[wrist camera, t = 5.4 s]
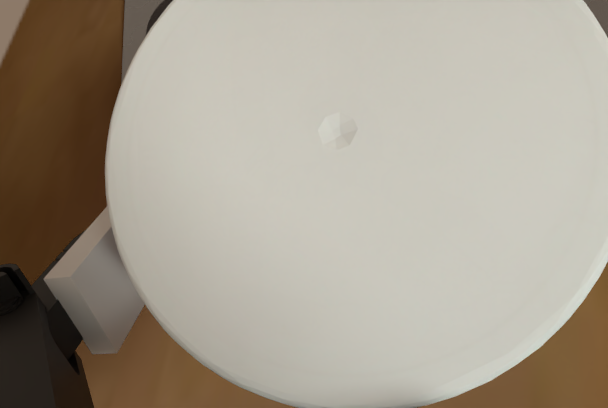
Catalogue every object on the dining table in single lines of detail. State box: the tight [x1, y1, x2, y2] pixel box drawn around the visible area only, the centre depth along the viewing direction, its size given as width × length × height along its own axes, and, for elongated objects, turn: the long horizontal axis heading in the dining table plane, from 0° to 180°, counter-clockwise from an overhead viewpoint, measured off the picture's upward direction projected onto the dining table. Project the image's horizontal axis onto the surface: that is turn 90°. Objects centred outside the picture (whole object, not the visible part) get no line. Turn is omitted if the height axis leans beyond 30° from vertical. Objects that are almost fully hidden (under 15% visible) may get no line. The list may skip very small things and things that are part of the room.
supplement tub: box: [105, 0, 608, 408], centre depth 15 cm, size 10×10×15 cm
